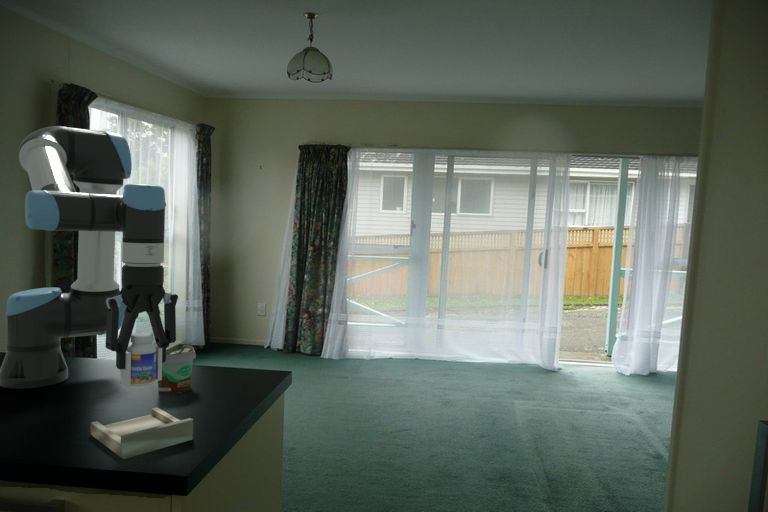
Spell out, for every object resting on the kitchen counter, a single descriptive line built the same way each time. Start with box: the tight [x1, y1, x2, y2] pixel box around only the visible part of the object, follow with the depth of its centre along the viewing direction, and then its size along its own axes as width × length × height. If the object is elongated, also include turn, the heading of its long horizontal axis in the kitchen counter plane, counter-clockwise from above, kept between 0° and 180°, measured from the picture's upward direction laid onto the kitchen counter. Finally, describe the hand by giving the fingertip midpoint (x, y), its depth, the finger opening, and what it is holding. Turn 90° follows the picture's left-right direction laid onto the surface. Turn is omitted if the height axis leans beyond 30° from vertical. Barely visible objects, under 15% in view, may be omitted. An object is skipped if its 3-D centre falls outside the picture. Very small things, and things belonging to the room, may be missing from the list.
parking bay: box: [90, 407, 194, 460], centre depth 108 cm, size 15×13×4 cm
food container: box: [157, 344, 197, 395], centre depth 137 cm, size 12×6×10 cm, turn 168°
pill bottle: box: [127, 331, 157, 388], centre depth 107 cm, size 5×5×10 cm
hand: (141, 381), depth 107 cm, fingers closed on pill bottle, 5 cm apart
